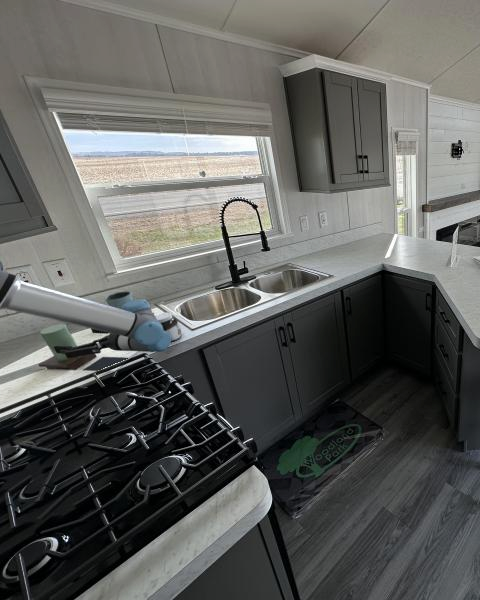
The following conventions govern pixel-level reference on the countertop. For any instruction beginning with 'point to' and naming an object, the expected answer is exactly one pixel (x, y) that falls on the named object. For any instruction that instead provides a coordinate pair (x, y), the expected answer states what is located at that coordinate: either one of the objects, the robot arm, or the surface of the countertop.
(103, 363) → the mat
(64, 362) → the stand
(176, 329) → the spread jar
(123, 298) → the blue plant pot
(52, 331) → the sage green cylinder
